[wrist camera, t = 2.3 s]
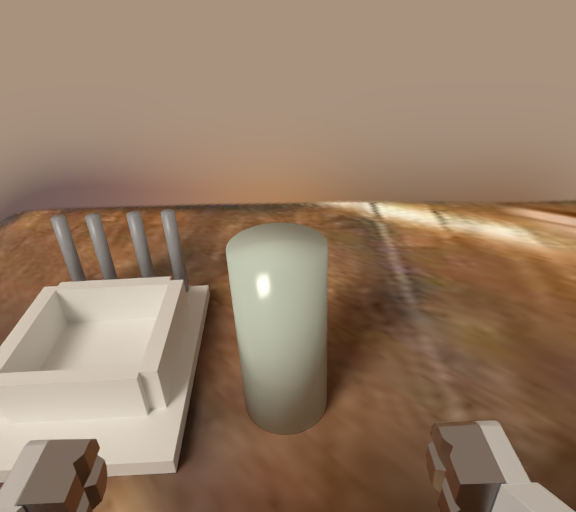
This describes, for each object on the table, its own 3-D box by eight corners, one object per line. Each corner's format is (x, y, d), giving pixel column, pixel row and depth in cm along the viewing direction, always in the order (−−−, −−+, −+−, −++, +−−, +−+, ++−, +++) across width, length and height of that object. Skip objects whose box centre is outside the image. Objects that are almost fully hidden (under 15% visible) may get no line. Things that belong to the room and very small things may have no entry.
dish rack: (209, 295, 38) (195, 207, 34) (176, 472, 24) (145, 362, 20) (65, 302, 38) (33, 216, 34) (-51, 485, 24) (-128, 377, 20)
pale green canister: (322, 368, 30) (322, 220, 25) (331, 432, 26) (333, 270, 20) (247, 372, 30) (229, 225, 25) (243, 436, 26) (221, 276, 20)
